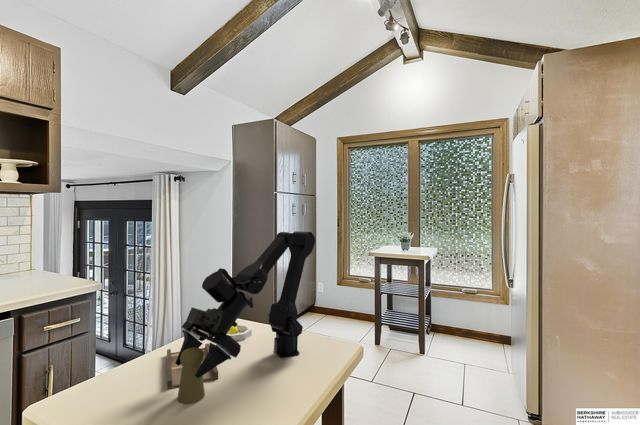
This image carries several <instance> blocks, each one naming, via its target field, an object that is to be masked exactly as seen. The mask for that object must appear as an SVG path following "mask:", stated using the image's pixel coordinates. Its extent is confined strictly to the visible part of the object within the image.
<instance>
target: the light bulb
mask: <svg viewBox="0 0 640 425" xmlns="http://www.w3.org/2000/svg"><path fill="white" fill-rule="evenodd" d="M227 334H238V328H237V327H233V326H232V327H231V328H230V330H229V331H228V333H227Z"/></svg>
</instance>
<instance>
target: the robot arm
mask: <svg viewBox="0 0 640 425" xmlns="http://www.w3.org/2000/svg"><path fill="white" fill-rule="evenodd" d="M315 244H316V238H315V235H314V234H313V233H312V231H301V230H296V231H293V232H290V231H280V232H277V234H276V237H275V238H274V239H273V240H272V242H271V243H270V244H269V245H268V247H267V248H266V249H265V250H263V252H262V253H261V255H259V257H258V258H257V260H255V261H254V262H253V263H252V264H249V265H247V266H246V267H244V268H243V269H242V270H241V271H240V272H238V273H237V274H236V275H235V276H231V275H230V274H229V273H228V271H227V269H225V268H219V269H217V271H214V272H212V273H211V274H209V275H208V276H206V278H204V280H203V282H202V285H201V288H202V289H203V291H204V292H206V293H207V294H208V295H209V296H210V297H211V298H212V299H213V300H214V301H216V302H217V303H220V305H219V306H218V307H217V308H216V307H213V308H212V309H211V308H207V309H206V310H203V309H200V308H196V307H191V308H190V310H189V313H188V315H187V318H186V320H185V322H184V323H183V325H181V328H182V334H183V342H182V345H181V348H180V350H179V351H178V352H179V355H178V357H177V360H176V362H175V364H177V365H178V366H179V365H180V364H181V362H180V357H181V354H182V352H183V351H185V350H186V349H189V348H200V347H201V346H202V345H203V342H204V341H205V340H206V341H208V342H209V343H208V344H209V352H208V354H207V356H206V357H205V359H204V361H203V362H202V364H201V365H200V367H199V369H198V370H197V372H196V374H195V376H196V377H197V378H200V377H201V376H203V375H204V374H206V373H207V372H208V371H210V370H211V369H213V368H214V367H216V366H217V367H218V366H219V365H221V364H223V363H224V362H226V361H228V360H229V361H230V360H232V357H233V358H235V359H237V357H238V356H239V354H240V353H241V351H242V350H241V347H242V346H241V344H240V343H239V342H238V341H235V340H234V339H233V338H232V337H231V336H229V335H227V333H228V331H229V330H230V328H231V327H232V326H233V327H236V326H237V324H238V322H237V320H238V318H239V317H240V315H241V314H242V313H243V311H244V309H245V308H250V309H254V308H253V307H254V303H253V297H250V296H247V295H246V294H245V293H247V294H251V295H257V294H259V293H260V292H261V291H262V290H263V289H264V286H266V283H267V281H268V278H269V274H270V271H271V270H272V268H273V267H274V266H275V265H276V263H278V261H279V260H280V259H281V257H282V256H283V255H284V254H285V252H286V251H287V249H288V250H289V253H290V258H289V262H288V267H287V269H286V274H285V278H284V283H283V286H282V290H281V294H280V298H279V300H278V301H277V302H276V303H271V306H270V311H269V314H268V316H267V317H268V323H269V326H270V328H271V331H272V332H273V333H275V337H274V340H273V343H274V344H273V351H274V352H275V354H277V355H276V356H278V357H279V359H280V358H286V357H293V356H297V355H300V351H299V350H298V342H299V340H298V337H299V336H300V335H301V334H302V333H303V329H304V327H303V325H302V324H301V323H300V322H299V321H298V314H299V313H298V309H297V305H296V301H297V296H298V292H299V287H300V284H301V280H302V277H303V276H302V275H303V272H304V267H305V263H306V259H307V258H308V257H309V256H310V255H311V253H312V252H313V250H314V247H315Z"/></svg>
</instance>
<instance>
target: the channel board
mask: <svg viewBox="0 0 640 425" xmlns="http://www.w3.org/2000/svg"><path fill="white" fill-rule="evenodd" d="M209 344H210V343H205V344H204V347H201V348H200V347H199V348H200V349H202V351H203V352H204V358H203V361H204V359H205V357H206V356H207V354H208V352H209ZM179 352H180V351H175V352H172V349H170V348H169V349H166V377H167V378H166V379H167V381H166V382H167V384H166V385H167V388H166V389H167V390H169V389H175V388H179V385H180V379H181V373H182V367H183V365H182V364H180V365H179V366H178V365H177V364H175V362H176V360H177V357H178V355H179ZM203 361H202V362H203ZM201 364H202V363H201ZM217 367H218V366H216V367H214V368H213V369H211V370H210V371H208V372H207V373H206V374H204V375H203V382H204V383H206V382H209V381H215V380H218V379H219V370H218V368H217Z"/></svg>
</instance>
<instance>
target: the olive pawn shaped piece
mask: <svg viewBox="0 0 640 425" xmlns="http://www.w3.org/2000/svg"><path fill="white" fill-rule="evenodd" d="M203 358H204V352H203V351H202V349H200V347H199V348H189V349H186V350H185V351H183V352H182V354H181V357H180V362H181V364H182V365H183V367H182V373H181V379H180V385H179V387H178V392H177V393H178V394H177V400H176V401H177V403H179V404H182V405H193V404H196V403H199V401H201V400H203V399H204V398H205V396H206V394H205V393H206V391H205V385H204V383H205V382H203V376H201V377H200V378H197V377H196V376H195V374H196V372H197V370H198V369H199V367H200V365H201V363H202V361H203Z"/></svg>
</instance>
